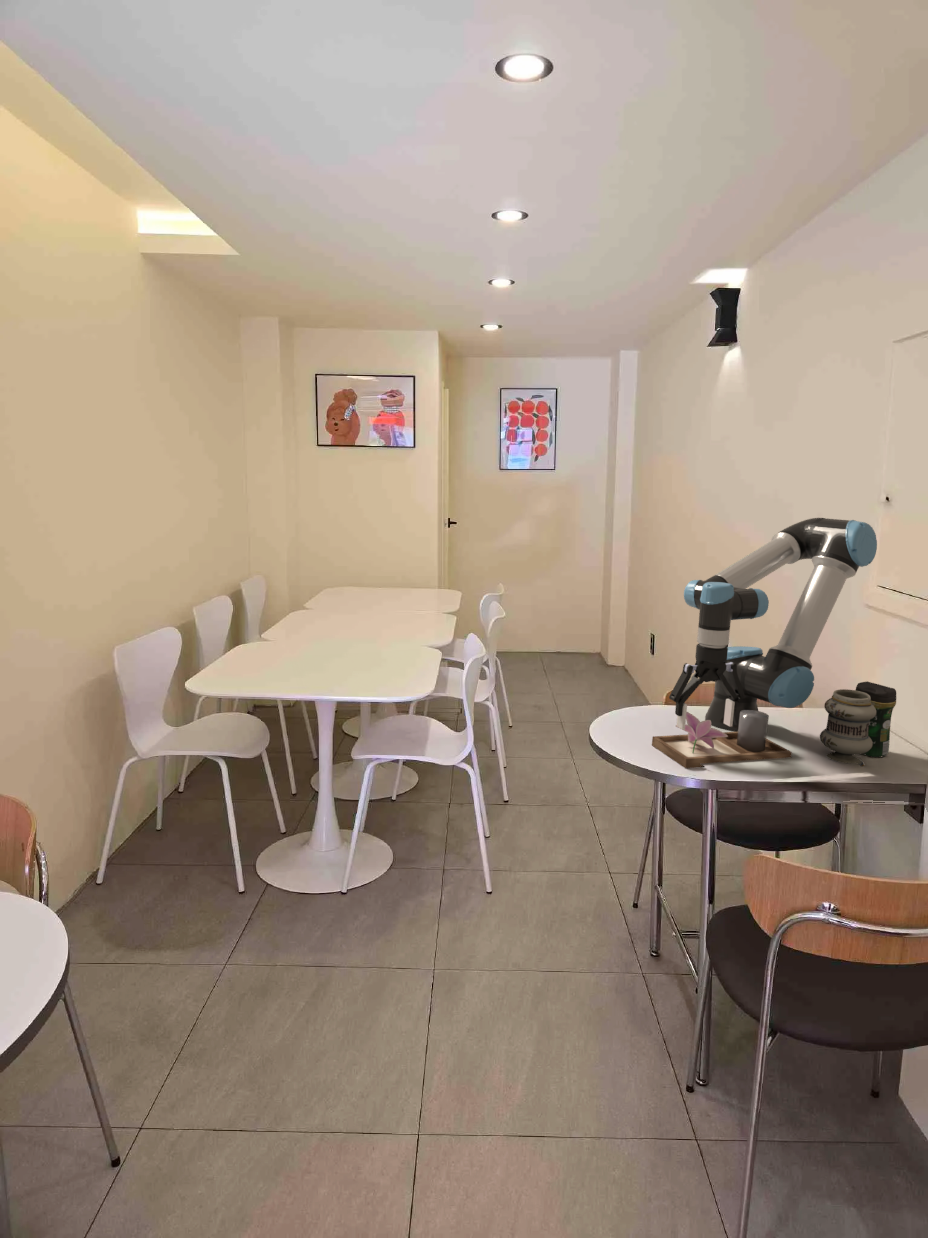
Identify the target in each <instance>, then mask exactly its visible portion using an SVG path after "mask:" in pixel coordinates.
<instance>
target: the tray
mask: <svg viewBox="0 0 928 1238" xmlns="http://www.w3.org/2000/svg"><path fill="white" fill-rule="evenodd" d="M722 732H723V731H722ZM723 733H725V734H726V735H727V736H728V737H718V738H711V739H712V740H713V743H714V748H712V747H710V746H709V745H708V744H706V743H705V742H703V741H702V740H698V741H696V744H695V748H694V753H692V752H693V747H694V743H695V741H694V742H689V741H688V733H687V734H672V735H657V736H654V735H653V736H652V739H651V740H652V741H651V746H653V747H654V748H655V749H656V750H658V751H659V752H661V753H662V754H664V755H665V756H666V757H668V758H670V760H672V761H674V762H676V763H677V764H678V765H680V766H681V767H683V768H684V769H694V768H695V769H697V768H706V766H705V765H704V764H715V763H716V764H717V763H728V762H729V763H730V762H742V761H743V762H744V761H758V760H759V761H760V760H772V759H787V758H792V753H793V752H792V751H791V750H789V749H787V748H785V747H783V746H781V745H779V744H777V743H776V742H774V741H772V740H770V739H768V738H766V744H765V750H764V751H762V752H750V751H747V750H745V749H744V748H742V747H740V746H738V745H737V735H738V732H737V731H726V732H725V731H724V732H723Z"/></svg>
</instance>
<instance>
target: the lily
mask: <svg viewBox="0 0 928 1238" xmlns="http://www.w3.org/2000/svg"><path fill="white" fill-rule="evenodd" d="M675 727H676V728H678V729H680V728H679V727H677V724H676V725H675ZM683 731H685V732H687V734H688V741H689V742H694V741H695V743H694V747H693V752H692V753H694V748H695V744H696V741H698V740H702V741H703V742H705V743H706V744H708V745H709V746H710V747H712V748H714V743H713V740H712V739H711V738H718V737H728V736H727V735H726V734H725V733H723V731H721V730H719V729H718V728H717V729H716V727H712V726H711V720H705V719H704V720H700V719H699V718H697V717H696V716H695V715H694V714H692V713H690V712H689V711H687V712H686V723H685V730H683Z"/></svg>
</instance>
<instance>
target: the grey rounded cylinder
mask: <svg viewBox="0 0 928 1238" xmlns="http://www.w3.org/2000/svg"><path fill="white" fill-rule="evenodd" d="M768 725H769V714H768V713H765V712H764V711H759V710H758V711H755V710H743V711H740V717H739V726H738V735H737V745H738V746H740V747H742V748H744V749H745V750H747V751H750V752H762V751H764V750H765V744H766V739H767V735H768V734H767V733H768Z"/></svg>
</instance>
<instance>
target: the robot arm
mask: <svg viewBox="0 0 928 1238" xmlns="http://www.w3.org/2000/svg"><path fill="white" fill-rule="evenodd" d="M877 549H878V539H877V534H876V532H875V530H874V529H873V526H872V525H870V524H869V523H868V522H864V521H859V520H854V519H850V520H849V519H848V520H847V519H837V518H836V519H835V518H826V517H825V518H824V517H812V518H808V519H804V520H801V521H799V522H796V523H794V524H792V525H789V526H787V527H786V528H784V529H782V530H780V531H778V532H777V533H774V534H773V536H772V537H771V539H770V541H768V542H767V543H766V544H764V545H762V546H760V547H759V548H758V549H756V550H754V551H751V552H750V553H749V554H748V555H745V556H744V557H742V558H741V559H739V560H737V561H736V562H734V563H733V564H731V565H729V566H728V567H726V568H723V569H722V570H721V571H719V572H718V573H716V574H714V575H712V576H710V577H709V578H707V579H706V580H702V579H694V580H690V581H689V582H688V583H687V584H686V586H685V587H684V590H683V599H684V602H685V603H686V605H688V606H689V607H691V608H695V609H697V610H699V612H698V613H699V615H698V616H699V617H698V625H697V626H698V629H697V637H696V642H697V644H696V646H695V647H696V648H695V662H694V664H689V663H687V662H685V663H684V664H683V666H682V672H681V674H680V676H679V678H678V679H677V681H676V683H675V684H674V687H673V689H672V690H671V692H670V694H669V695H668V698H669V700H670V701H673V702H674V703H675V708H674V709H675V710H674V711H675V712H674V713H675V715H676V717H677V718H676V725H677V727H676V728H678V727H679V728H678V729H680V730H683V731H684V730H685V724H687V721H686V712H688V711H687V710H688V709H687V708H688V704H687V703H686V702H687V700H688V699H689V698H690V697H691V695H692V694H693V693H694V692H695V691H696V690H697V689H698V687H699V686H700V685H702V684H703V683H704V682H705V683H710V682H714V692H713V698H712V700H711V702H710V705H709V707H708V710H707V712H706V713H705V716H704V721H705V720H711V727H713V728H717V729H721V730H725V731H728V732H738V726H739V717H740V711H743V710H755V711H759V707H758V700H760V701H763V702H767V703H770V704H772V705H773V706H775V707H782V708H787V709H793V708H796V707H798V706H800V705H802V704H803V703H805V702H806V701H807V700H808V699H809V697H810V695H811V694H812V693H813V690H814V686H815V683H814V681H815V675H814V673H813V671H812V668H813V664H812V661H811V656H812V653H813V652H814V649H815V647H816V645H817V643H818V641H819V640H820V639H819V638H820V636H821V634H822V632H823V630H824V628H825V626H826V624H827V622H828V620H829V617H830V615H831V613H832V611H833V609H834V607H835V604H836V602H837V600H838V598H839V597H840V594H841V592H842V589H843V587H844V585H845V583H846V581H847V579H849V578H852V577H855V576H856V574H857V571H858V570H859V568H860V567H861V568H863V567H867V566H869V565H870V564H872V562H873V561H874V559H875V557H876V555H877ZM801 560H811V562H812V564H813V569H812V571H811V573H810V576H809V578H808V580H807V582H806V584H805V586H804V589H803V591H802V593H801V595H800V596H799V599H798V601H797V603H796V605H795V607H794V609H793V612H792V614H791V616H790V618H789V621H788V622H787V625H786V626H785V628H784V630H783V633H782V635H781V637H780V640H779V641H778V643H777V644H776V645H774V646H771V647H769V648H768V651H767V653H766V655H765V656H764V651H763V649H762V648H760V647H756V646H741V645H740V646H738V645H737V646H728V645H729V643H730V633H731V632H730V631H731V623H732V621H735V620H736V621H737V620H753V619H756V618H762V617H764V615H765V614H767V612H768V610H769V604H770V603H769V601H770V600H769V598H768V595H767V594H766V592H765V591H763V590H762V589H760V588H752V587H751V586H752V585H754V584H755V583H758V582H759V581H761V580H762V579H764V578H765V577H767V576H769V575H770V574H772V573H774V572H776V571H777V570H779V569H780V568H782V567H783V566H785V565H792V564H795V563H797V562H798V561H801Z"/></svg>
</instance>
